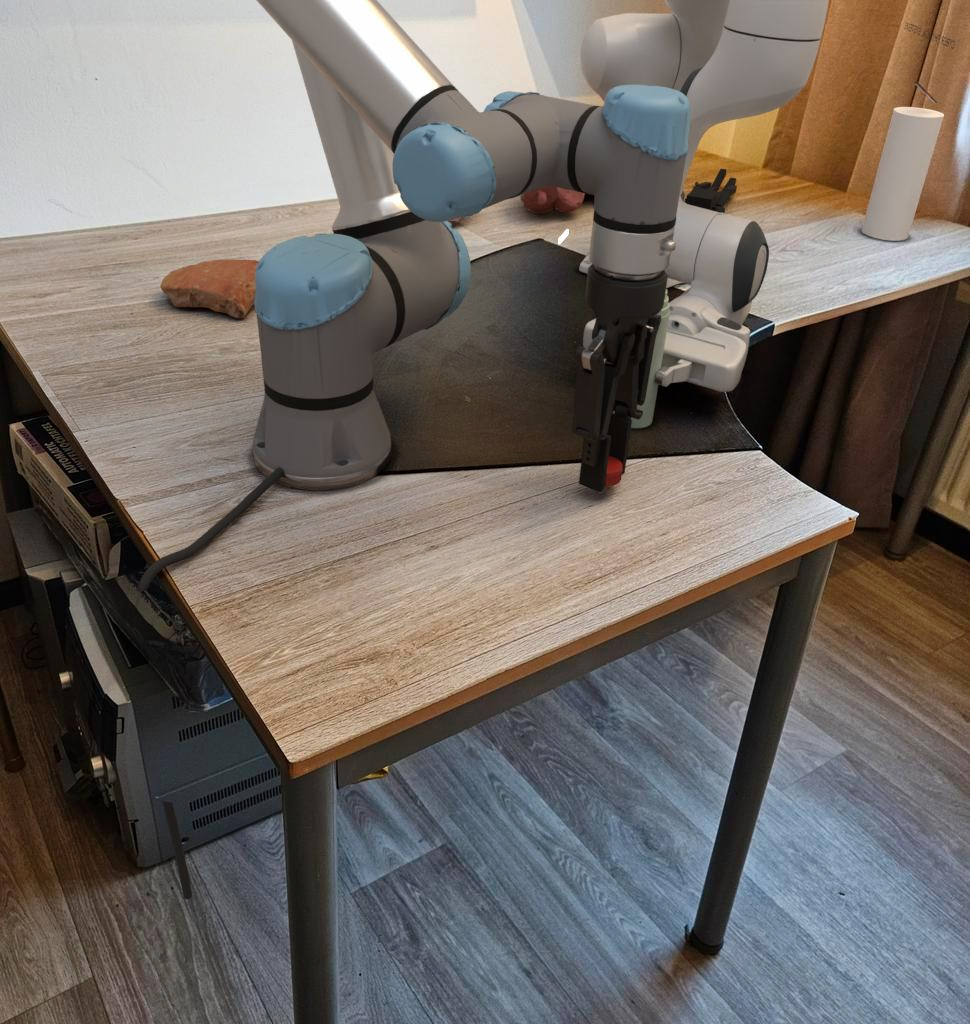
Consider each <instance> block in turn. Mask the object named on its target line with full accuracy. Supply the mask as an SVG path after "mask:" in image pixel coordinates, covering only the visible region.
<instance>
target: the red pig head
mask: <svg viewBox="0 0 970 1024" xmlns="http://www.w3.org/2000/svg"><path fill="white" fill-rule="evenodd" d="M585 195H586V193H581V192H577V191H572V190H568V189H563V188H559V187H554V186H544V187H541V188H539V189H536V190H533V191H531V192H528V193H525V194H523V195H520V200H521V202H522V203H523V207H524V209H525V210H529V211H530V212H532V213H535V214H546V213H549V212H551V211H552V210H553V209H554V208H555V209H556V210H557V211H559V212H560V213H564V214H569V213H573V212H575V211H578V209H579V208H581V206H582V203H584V199H585ZM589 195H591V196H593V197H595V195H593V194H589Z"/></svg>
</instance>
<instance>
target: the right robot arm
mask: <svg viewBox="0 0 970 1024" xmlns="http://www.w3.org/2000/svg"><path fill="white" fill-rule="evenodd" d="M663 2H664V3H665V4H666V6H667V7H668V8H669V9H670V11H671V12H669V13H655V12H654V13H650V12H648V13H645V12H624V13H619V14H614V15H610V16H605V17H602V18H597V19H595V20H594V21H593V22H592V23H591V25H590V26H589V27H588V29H587V30H586V32H585V34H584V36H583V37H582V41H581V44H580V48H579V66H580V70H581V74H582V76H583V78H584V80H585V82H586V84H588V86H589V88H591V89H592V90H593V91H594V92H595V93H596V94H597V95H598V96H599V98H600V99H601V100H602V101H603V103H605V98H606V95H607V93H608V92H609V91H610V90H611V89H612V88H614V87H617V86H621V85H646V86H661V87H667V88H671V89H675V90H677V91H679V92H681V93H683V94H684V95H685V96H686V97H687V98H688V100H689V102H690V106H691V113H690V125H689V136H688V146H689V150H688V152H687V156H686V160H685V166H684V172H683V178H682V184H681V190H680V196H679V202H678V208H677V214H676V223H675V228H674V235H673V241H675V243H676V248H675V250H674V251H671V255H670V262H669V266H668V267H667V268H666V273H667V275H668V279H667V286H666V289H669V288H671V287H674V286H677V285H680V284H687V285H690V286H689V288H687V289H686V290H684V292H682V294H681V295H679V296H677V297H676V298H674V299H672V300H671V301H669V302H668V303H669V304H670V308H669V311H670V315H669V321H668V327H667V334H666V340H665V346H664V352H663V358H662V365H661V368H660V369H658V370H657V372H656V375H655V376H656V379H655V384H658V386H662V387H665V388H667V387H668V386H669V385H671V384H675V383H683V382H687V383H690V384H694V385H697V386H699V387H704V388H707V389H710V390H714V391H717V392H719V393H727V392H733V390H735V388H736V387H737V386H738V384H739V383H740V381H741V378H742V372H743V370H744V367H745V363H746V360H747V356H748V353H749V346H750V340H751V339H750V337H751V330H750V329H749V327H746V326H745V325H743V324H744V323H745V321H746V319H747V318H748V315H749V313H750V311H751V308H752V303H753V301H754V300H755V298H756V297H757V296H758V295H759V292H760V290H761V288H762V285H763V282H764V280H765V277H766V273H767V269H768V264H769V260H770V249H769V244H768V241H767V239H766V235H765V233H764V231H763V229H762V228H761V226H760V225H759V224H758V222H757V221H756V220H751V219H747V218H744V217H740V216H737V215H734V214H730V213H725V212H724V213H722V212H720V213H719V212H715V211H712V210H708V209H704V208H700V207H696V206H692V205H689V204H686V203H685V198H686V196H685V195H686V193H685V191H684V185H685V182H686V179H687V176H688V174H689V171H690V168H691V166H692V163H693V161H694V158H695V156H696V152H697V150H698V147H699V144H700V142H701V140H702V138H703V136H704V135H705V133H706V132H708V130H710V129H711V128H712V127H714V126H717V125H718V124H721V123H726V122H731V121H736V120H741V119H746V118H752V117H756V116H760V115H764V114H767V113H770V112H773V111H775V110H778V109H779V108H782V107H783V106H785V105H786V104H788V103H790V102H791V101H793V99H794V98H796V97H797V96H798V95H799V93H801V91H802V90H803V89H804V88H805V86H806V85H807V82H808V80H809V78H810V76H811V73H812V70H813V68H814V65H815V62H816V59H817V56H818V52H819V49H820V44H821V39H822V36H823V31H824V28H825V23H826V18H827V14H828V8H829V4H830V0H663ZM697 184H700V183H699V182H698V181H696V182H694V186H695V185H697ZM568 236H569V229H568V228H566V230H564V232H563V233H562V234H561V235H560V236H559V237H558V240H557V241H558V242H557V244H558V245H561V244H562V242H563V241H564V240H565V239H566V238H567V237H568ZM591 265H592V263H591V261H590V260H589V253H588V254H586V256H585V257H584V259H582V261H581V262H580V264H579V268H578V271H579V272H581V273H584V274H585V275H587V274H588V268H589V266H591ZM595 321H596V318H593V319H592V320H589V321H588V322H587V323H586V324H585V327H584V330H583V337H582V347H583V348H587V347H588V346H589V345H590V343H591V342H592V341H593V340H592V331H593V328H594V325H595ZM610 364H611V363H610Z"/></svg>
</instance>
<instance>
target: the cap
mask: <svg viewBox="0 0 970 1024" xmlns="http://www.w3.org/2000/svg"><path fill="white" fill-rule="evenodd" d="M622 469H623V468H622V463H621V461H620V460H618V459H617V458H615V457H612V456H609V458H608V466H607V474H606V481H605V488H611V487H615V486H617V485H618V484H619V483H621V481H622V476H623V475H622Z"/></svg>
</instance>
